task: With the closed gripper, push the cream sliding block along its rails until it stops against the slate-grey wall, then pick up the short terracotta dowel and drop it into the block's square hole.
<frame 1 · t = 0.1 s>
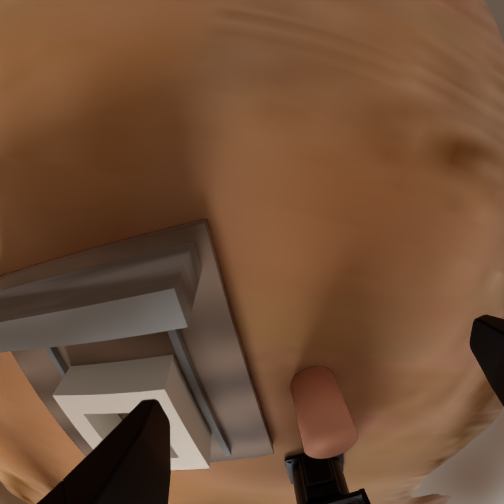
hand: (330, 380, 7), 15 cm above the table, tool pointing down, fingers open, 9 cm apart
block: (136, 420, 22), point 3 cm above the table, slide at 0.0 cm
board: (125, 380, 25), on the table
dowel: (312, 383, 26), on the table
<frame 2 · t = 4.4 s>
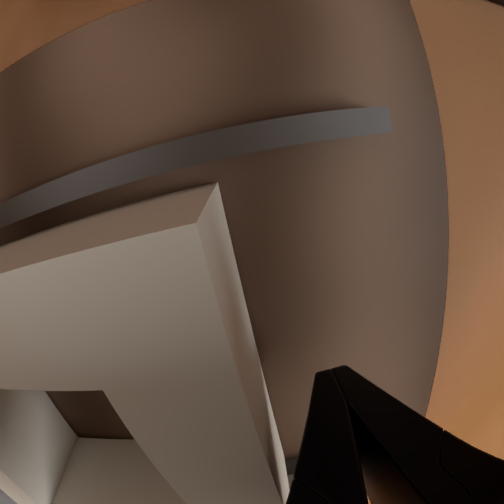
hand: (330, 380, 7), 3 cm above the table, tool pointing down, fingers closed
block: (84, 425, 7), point 3 cm above the table, slide at 1.0 cm, touching gripper
board: (104, 380, 10), on the table
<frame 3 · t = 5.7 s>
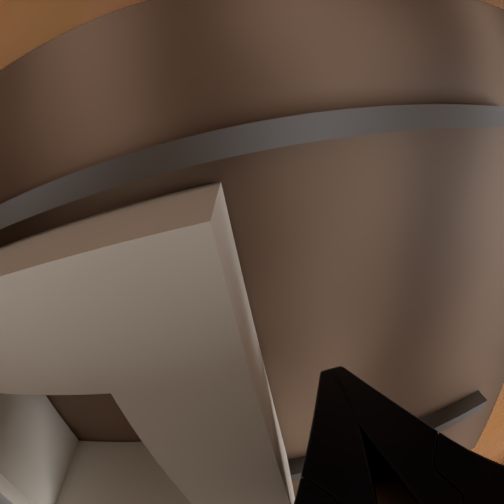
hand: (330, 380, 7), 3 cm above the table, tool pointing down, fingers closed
block: (86, 428, 7), point 3 cm above the table, slide at 6.0 cm, touching board, gripper
board: (235, 366, 10), on the table
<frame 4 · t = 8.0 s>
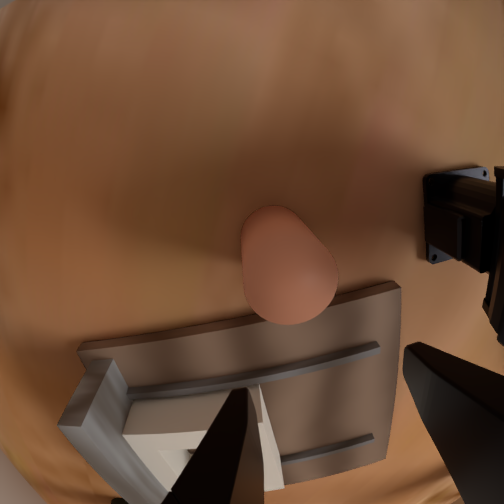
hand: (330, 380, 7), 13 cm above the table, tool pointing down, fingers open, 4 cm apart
block: (210, 450, 21), point 3 cm above the table, slide at 6.0 cm
board: (259, 421, 25), on the table
dowel: (273, 237, 20), on the table
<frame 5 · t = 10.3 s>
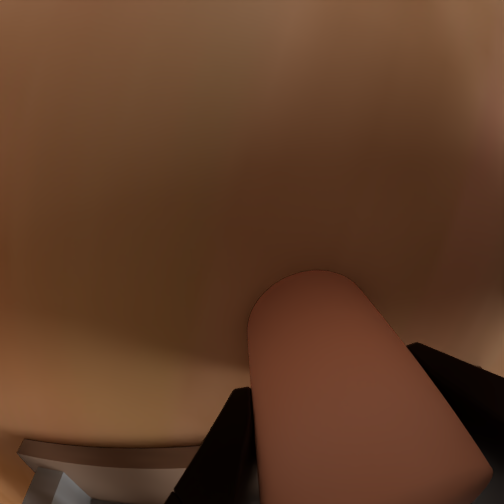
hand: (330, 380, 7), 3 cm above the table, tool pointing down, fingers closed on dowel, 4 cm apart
dowel: (310, 328, 10), on the table, touching gripper
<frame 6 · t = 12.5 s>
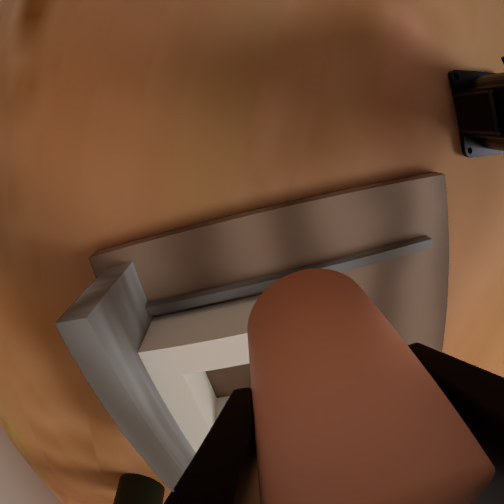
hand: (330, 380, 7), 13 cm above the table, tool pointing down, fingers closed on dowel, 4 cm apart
block: (245, 380, 20), point 3 cm above the table, slide at 6.0 cm
board: (300, 350, 23), on the table
wine bottle: (142, 483, 30), on the table
dowel: (310, 327, 10), point 11 cm above the table, touching gripper
when the fingers open (7 cm above the table, at t = 14.7 s): dowel drops 3 cm, resting on board.
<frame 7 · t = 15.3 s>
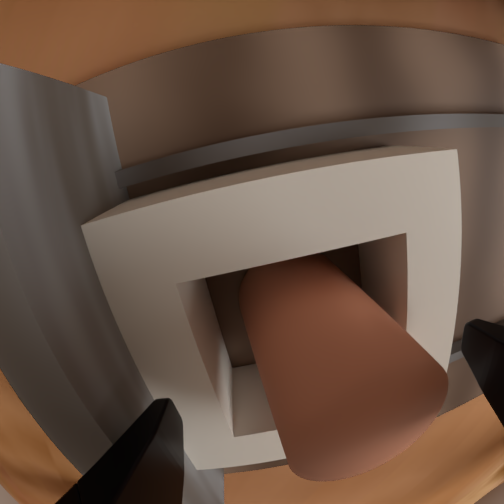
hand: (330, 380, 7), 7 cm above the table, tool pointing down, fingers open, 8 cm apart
block: (299, 320, 10), point 3 cm above the table, slide at 6.0 cm
board: (372, 281, 14), on the table
dowel: (290, 294, 12), point 1 cm above the table, tilted 7°, touching board
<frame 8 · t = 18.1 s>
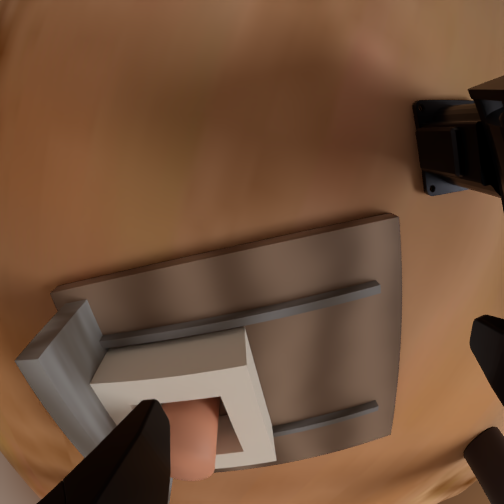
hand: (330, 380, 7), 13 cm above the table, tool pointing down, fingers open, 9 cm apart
block: (191, 411, 20), point 3 cm above the table, slide at 6.0 cm
board: (248, 382, 23), on the table
dowel: (193, 391, 22), point 1 cm above the table, touching board
vinegar: (479, 440, 31), on the table
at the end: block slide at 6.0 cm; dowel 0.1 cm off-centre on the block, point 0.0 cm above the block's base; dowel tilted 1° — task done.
